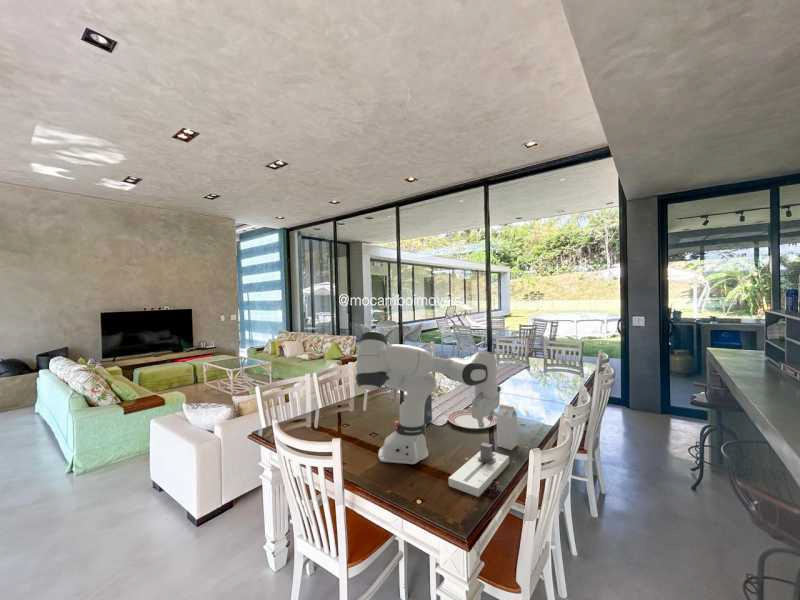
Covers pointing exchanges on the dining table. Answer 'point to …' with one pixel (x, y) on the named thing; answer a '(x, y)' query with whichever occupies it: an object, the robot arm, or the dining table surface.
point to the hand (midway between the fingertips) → (486, 423)
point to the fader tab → (486, 453)
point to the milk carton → (506, 427)
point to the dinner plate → (469, 420)
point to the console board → (478, 474)
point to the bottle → (428, 409)
